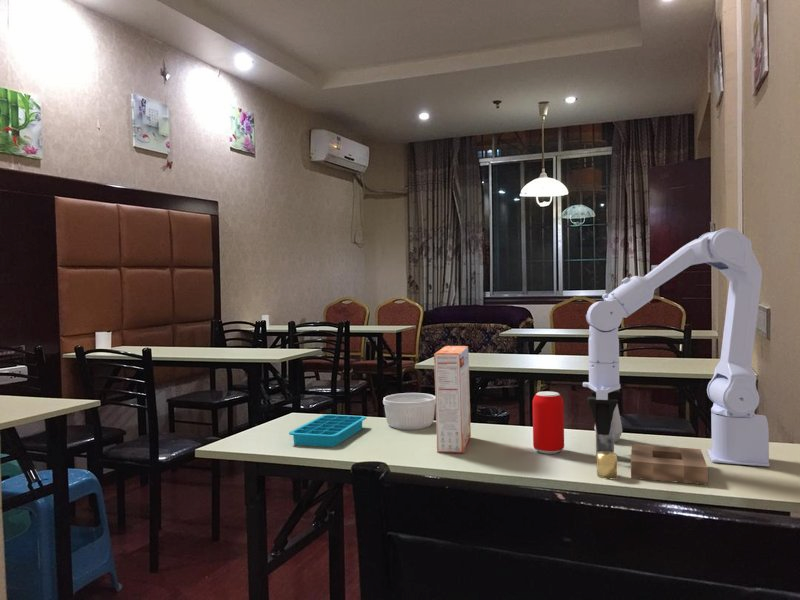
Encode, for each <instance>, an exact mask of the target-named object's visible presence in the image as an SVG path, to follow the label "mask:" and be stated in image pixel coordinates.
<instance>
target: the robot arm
mask: <svg viewBox="0 0 800 600" xmlns="http://www.w3.org/2000/svg"><path fill="white" fill-rule="evenodd" d="M699 264H700V265H701V264H707V265H709V266H711V267H713V268H715V269H717V270H718V271H719V272H720V273H721V274H722V275H723V276H725V278H727V280H728V281H729V283H728V285H729V286H728V292H727V300H726V308H725V309H726V310H725V318H724V326H723V335H722V342H721V343H722V344H721V351H720V352H721V353H720V357H719V361H718V363H717V364H716V366H715V368H714V373H713V376H712V378H711V380H709V382H708V384H707V388H706V393H707V397H708V398H709V400H710V401H711V402H712V403H713V404H712V407H711V408H710V412H711V413H710V414H711V415H710V416H711V422H710V423H711V425H710V426H711V448H710V449H709V448H708V449H707V453H708V456H709V459H710V461H711V462H712V463H720V464H730V465H731V464H732V465H746V466H754V467H755V466H757V467H770V445H769V444H770V442H769V441H770V440H769V439H770V437H769V436H770V435H769V433H770V432H769V431H770V430H769V423H768V419H767V416H766V415H764V414H755V411H756V409H757V408H758V406H759V405H760V394H759V392H758V389H757V376H756V374H755V371H754V369H753V367H752V363H753V362H752V361H753V360H752V359H753V354H754V353H753V352H754V345H755V336H756V328H757V322H758V321H757V320H758V313H759V305H760V295H761V289H762V280H763V271H762V268H761V266H760V263H759V261H758V259H757V257H756V255H755V253H754V250H753V248H752V240H751V239H749V238H748V237H747V236H746V235H744V233H742V232H741V231H740V230H738V229H736V228H732V227H724V228H721V229H719V230H716V231H709V232H706V233H705V232H704V233H703V234H702V235H700V236H699V237H698V238H695V239H693V240H691V241H690V242H688V243H686V244H684V245H682V247H680V248H679V249H678V250H676V251H675V252H674V253H672V254H670V256H669V257H667V258H666V259H665V260H663V261H662V262H661V263H660V264H658V265H657V266H655V267H654V268H653V269H652V270H650V271H649V272H648V273H647V274H645V275H644V276H639V275H633V276H631V277H629V276H628V277H625V278H623V279H622V280H621V283H622V284H620V285H619V286H618V287H616V288H614V289H613V290H612V291H611V292H609V293H603V295H602V294H601V295H602V296H601V297H602V299H603V300H600V301H596V302H593V303H592V304H591V305H589V307H588V310H587V312H586V314H585V320H586V322H587V324H588V325H589V330H588V334H589V336H588V382H587V381H583V382H582V387H584V388H588V389H590V393H591V396H587V398H586V400H587V404H588V405H589V408H590V409H591V412H592V415H593V418H594V427H595V426H596V430H597V434H600V435H609V433H610V428H611V422H612V418H613V412H614V409H615V407H616V405H617V404H618V403H619V399H618V398H619V395H620V394H621V390H620V389H621V383H620V339H619V327H620V325H621V324H622V322H623V318H628V317H629V316H631V315H632V314H634V313H635V312H636V311H638V310H639V309H640V308H642V307H643V306H645V305H647V304H648V303H649V302H650V301H653V298H654V294H655V290H656V289H657V288H658V287H660V286H663V284H665V283H666V282H668V281H670V280H671V279H673V278H674V277H676V276H677V275H678V274H680V273H681V272H683V271H684V270H686V269H687V268H689V267H690V266H694V265H699Z"/></svg>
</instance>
